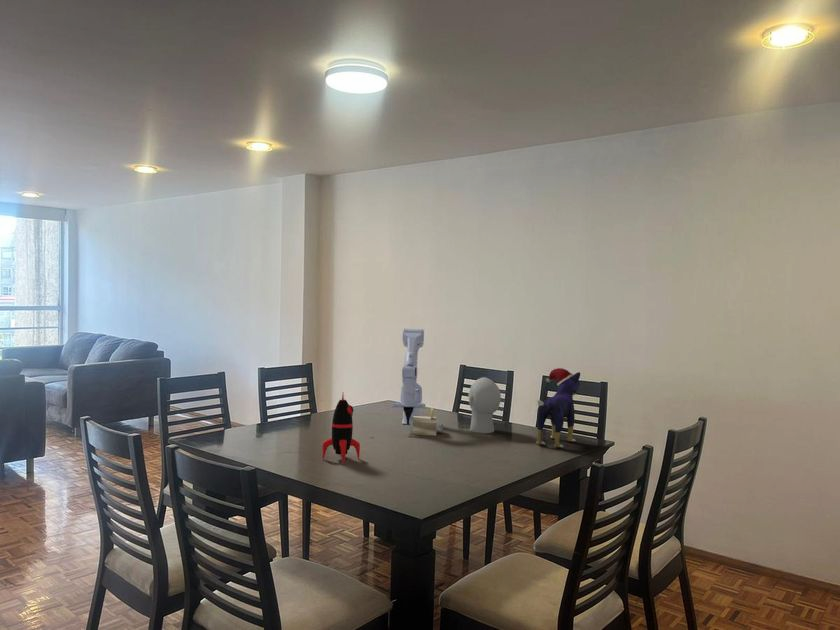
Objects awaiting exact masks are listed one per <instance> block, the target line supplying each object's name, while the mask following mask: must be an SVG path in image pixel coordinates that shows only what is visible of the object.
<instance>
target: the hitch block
mask: <svg viewBox="0 0 840 630" xmlns="http://www.w3.org/2000/svg"><path fill="white" fill-rule="evenodd" d="M437 424H438V420H437V416H433V420H431V415H430V416H428V415H427V416H426V415H425V416H424V415H419V416H413V434H412V435H413V436H437V433H436V430H437Z"/></svg>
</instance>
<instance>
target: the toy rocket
mask: <svg viewBox="0 0 840 630" xmlns="http://www.w3.org/2000/svg"><path fill="white" fill-rule="evenodd" d="M341 396H342V397H341V399H339V400H338V401H337V404H336V406H335V409H334V412H333V417H332V422H331V437H330V438H328V439H326V440H324V441H323V443H322V460H325V455H326V452H327V449H328V448H329V447H330V446H332V447H333V448H332V449H333V450H334V451H335V455H341V460H342V464H345V461H346V455H347V454H348V451H349V450H350V449H351V446H352V447H354V448H355V449H354V450H355V451H356V456H357V460H360V452H361V451H360V449H361V444H360V442H359V441H358V440H356V439H354V438H353V429H354V428H353V427H354V426H353V422H354V421H353V415H354V407H353V406H352V405H351V404H349V403H348V401H347V399H345V397H344V396H345V395H344V393H342V395H341Z"/></svg>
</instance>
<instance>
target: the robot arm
mask: <svg viewBox="0 0 840 630" xmlns="http://www.w3.org/2000/svg"><path fill="white" fill-rule="evenodd" d="M424 340H425V330H424V329H423V328H422V329H421V328H404V329H402V343H403V347H405V348H407V353H405V354H404V359H403V360H404V361H403V366H402V369H401V378H402V386H401V388H400V389H401V391H400V402H392V403H391V408H400V409H401V408H403V409H402V410H403V411H402V413H403V415H402V419H401V424H402V425H407V426H408V425H409V426H410V417H413V416H420V415H419V414H420V412H419V411H420V409H424V410H425V409H426V403H425V402H424V403H423V402H422V401H423V388H422V386H421V385H420V384H419V383H418V382H417V380H418V355H419V350H420V348H422V347H424Z"/></svg>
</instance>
